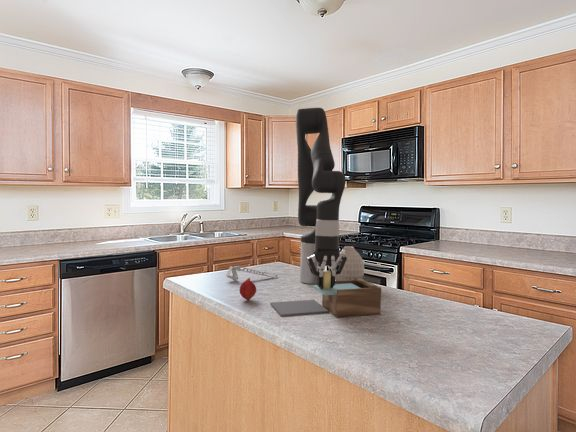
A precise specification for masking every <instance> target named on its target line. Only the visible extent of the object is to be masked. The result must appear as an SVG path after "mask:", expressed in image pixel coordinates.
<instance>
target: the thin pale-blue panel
mask: <svg viewBox="0 0 576 432" xmlns="http://www.w3.org/2000/svg"><path fill="white" fill-rule="evenodd" d="M322 277H323V288H322V289H320V288H319V287H318V286H317V284H312V288H313V289H315V290H316V291H317V292H319V293H321V294H322V295H323V294H324V295H337V290H341V289H357V288H360V287H358V286H356V285H354V284H352V283H343V284H335V285H334V286H333V288H331V271H329V270H324V272H323V276H322Z"/></svg>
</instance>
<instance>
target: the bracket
mask: <svg viewBox="0 0 576 432" xmlns="http://www.w3.org/2000/svg"><path fill="white" fill-rule="evenodd" d="M241 268H243V269H241ZM238 272H245V273H249V274H253V275H254V274H255V275H259V276H264V277H268V278H272V279H276V278H277V277H278V274H277V273H276V274H275V273H271V272H267V271H265V270H264V271H259V270H256V269H252V268H249V267H244V266H241V265H235V266H234V265H233V266H231V265H230V266H229V267H228V270H227V273H226V274H225V277H226V278H229V279H230V280H232V281H233V282H234V281H235V282H238V280H239V275H238ZM230 274H232V275H230ZM268 274H269V275H268ZM270 275H271V276H270ZM272 275H273V276H272ZM274 276H275V277H274Z"/></svg>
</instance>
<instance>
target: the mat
mask: <svg viewBox="0 0 576 432" xmlns="http://www.w3.org/2000/svg"><path fill="white" fill-rule="evenodd" d="M269 305H270V306H271V308H273V310H275V312H276V313H277V314H278V315H279V316H280V317H291V316H303V315H315V314H316V315H317V314H318V315H319V314H326V313H327V314H328V313H330V312H329V311H328V310H327V309H326V308H324V307H323V306H322V304H320V303H319V302H318V301H316V300H315V299H304V300H303V299H302V300H292V301H291V300H289V301H287V300H285V301H273V302H270V304H269Z"/></svg>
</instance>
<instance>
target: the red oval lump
mask: <svg viewBox="0 0 576 432" xmlns="http://www.w3.org/2000/svg"><path fill="white" fill-rule="evenodd" d="M256 293H257V287H256V284H255V283H254V282H253V281H252V280H251V277H248V278H246V280H244V281H243V282H242V283H241V285H240V286H239V294H240V296H241V297H242V298H243V299H244V300H246V301H250V300H251V299H252V298H253V297H254V296H255V295H256Z"/></svg>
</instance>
